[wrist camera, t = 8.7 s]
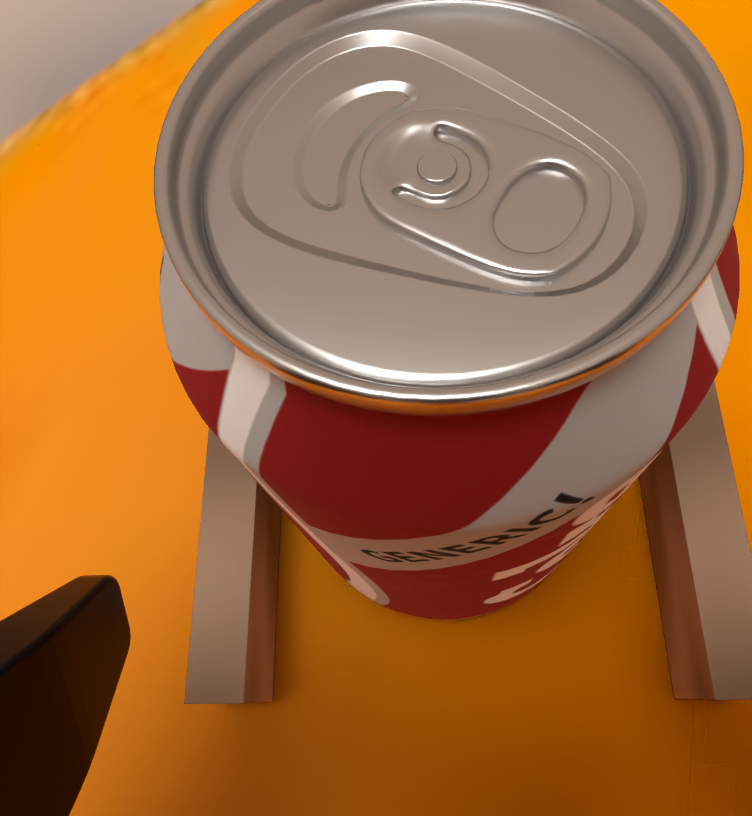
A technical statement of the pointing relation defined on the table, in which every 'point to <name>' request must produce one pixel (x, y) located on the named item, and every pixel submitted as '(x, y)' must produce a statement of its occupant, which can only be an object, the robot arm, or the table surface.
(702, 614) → the frame
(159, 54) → the table surface
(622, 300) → the soda can
